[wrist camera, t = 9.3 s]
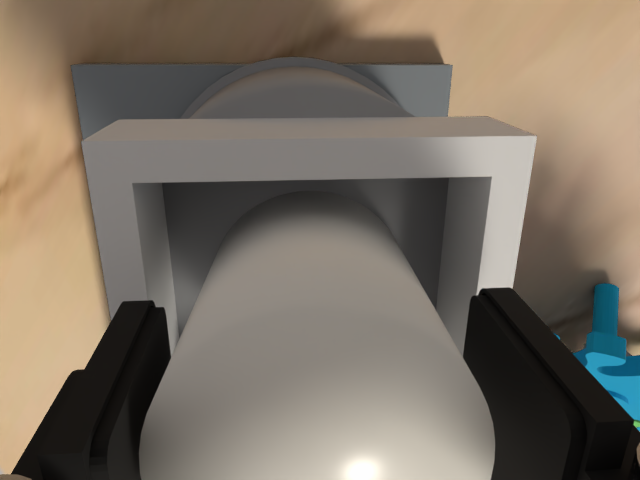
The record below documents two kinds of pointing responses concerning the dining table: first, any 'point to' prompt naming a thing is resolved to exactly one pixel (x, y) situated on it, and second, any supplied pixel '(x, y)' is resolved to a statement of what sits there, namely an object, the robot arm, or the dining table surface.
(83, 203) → the dining table surface
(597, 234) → the dining table surface
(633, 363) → the gear
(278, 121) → the motor stand
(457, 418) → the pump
